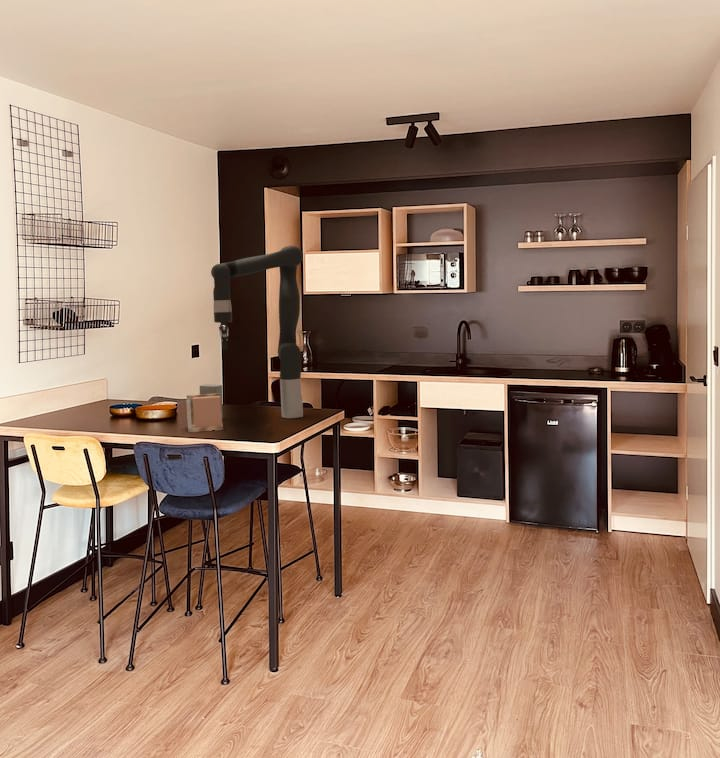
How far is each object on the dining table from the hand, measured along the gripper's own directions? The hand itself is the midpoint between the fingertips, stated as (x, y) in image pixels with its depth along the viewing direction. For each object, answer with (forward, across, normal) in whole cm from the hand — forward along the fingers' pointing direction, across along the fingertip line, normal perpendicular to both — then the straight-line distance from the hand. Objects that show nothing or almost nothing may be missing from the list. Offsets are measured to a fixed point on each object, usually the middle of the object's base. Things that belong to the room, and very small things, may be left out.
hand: (224, 349), depth 318 cm
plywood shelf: (+32, -10, +10) cm, 35 cm away
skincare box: (+32, +10, +7) cm, 35 cm away
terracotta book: (+31, -12, +9) cm, 34 cm away
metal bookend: (+31, -10, +16) cm, 36 cm away
